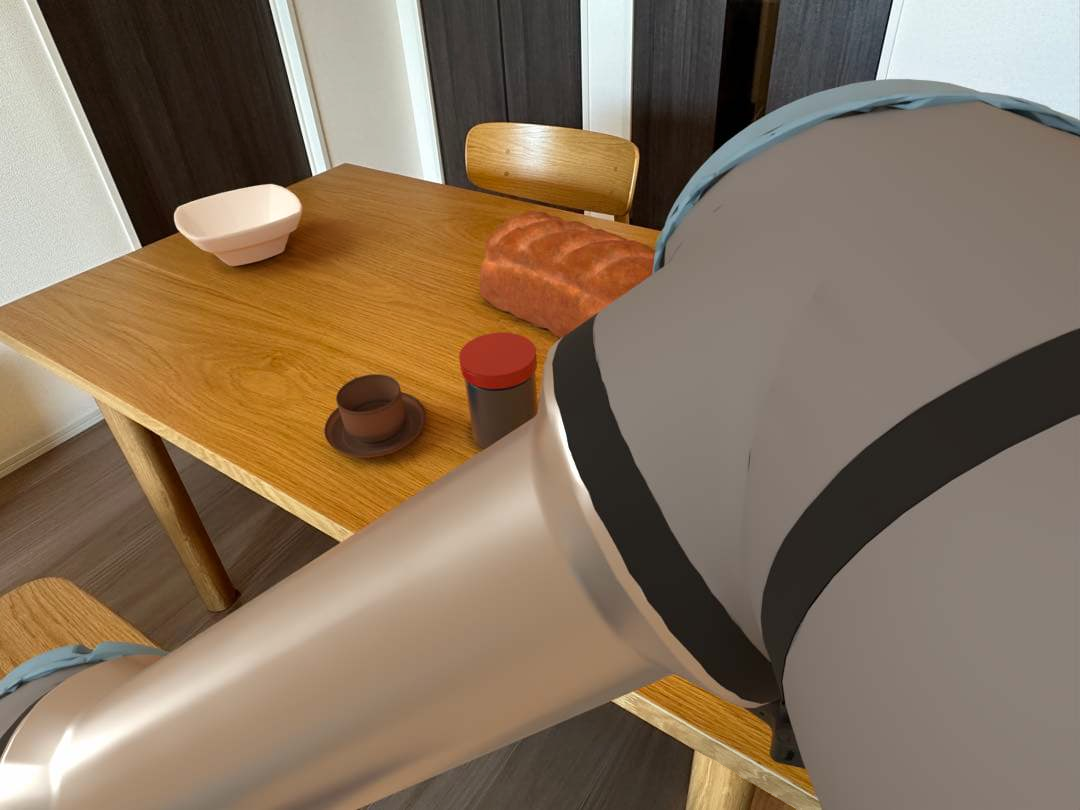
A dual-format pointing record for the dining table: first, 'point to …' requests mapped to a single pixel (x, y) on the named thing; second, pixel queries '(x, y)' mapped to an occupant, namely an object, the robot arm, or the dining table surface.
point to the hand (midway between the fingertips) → (743, 592)
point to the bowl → (241, 223)
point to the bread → (559, 270)
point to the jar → (500, 410)
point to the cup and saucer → (373, 417)
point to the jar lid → (498, 360)
